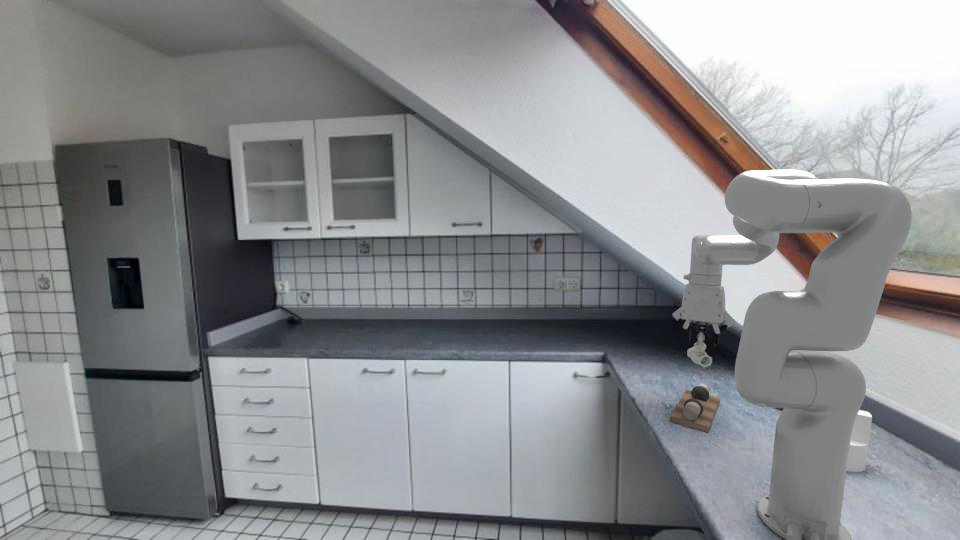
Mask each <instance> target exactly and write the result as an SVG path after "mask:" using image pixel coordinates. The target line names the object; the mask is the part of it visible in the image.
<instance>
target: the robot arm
mask: <svg viewBox="0 0 960 540" xmlns="http://www.w3.org/2000/svg"><path fill="white" fill-rule="evenodd" d="M724 204H725V207H726V209H727V211H728V212H729V214H731V215H732V216H733V217H732V224H733V227H734V229H735V231H736V232H737V233H738V234H699V235H698V234H697V235H695V236H694V237H692V240H691V249H690V250H691V251H690V253H691V254H690V268H689V273H688V274H684V275H683V280H687V282H688V283H686V284H685V286H684V290H683V294H682V295H683V296H682V301H681V306H680V307H679V308H678V309H677V310H675V311H674V312H673V313H672V317H673V318H674V319H675V320H676V321H677V322H678V323H679V325H681V327H682V328H683V332H684V333H683V339H684V340H685V344H690V342H691V341H692V326H689V322H691V321H696V322H704V323H711V324H712V325H713V328H714V329H713V332H712V333H711V335H712V336H711V348H712V349H716V346H718V345H720V344H719V343H720V334H721V333H722V332H724V331H725V330H727V329H728V328H730V327H733V326H734V325H735V324H736V320H735V319H734V318H733V317H732V316H731V314H730V313H728V311H727V310H726V292H725V286H723V285H722V278H723V266H725V265H726V266H748V265H749V266H750V265H755V264H758V263H760V262H761V261H763V260H765V259H766V258H768V257H769V256H771V255H772V254H773V253H774V252H775V251H776V249H777V247H778V244H779V240H780V234H825V233H826V234H828V233H829V234H834V233H835V234H837V237H836V238H835V239H834V240H833V241H831V242H830V243H829V244H827V245H826V246H825V247H824V248H823V249H822V250H821V251H820V252H819V253H818V254H817V256H816V257H815V258H814V260H813V261H812V263H811V266H810V270H809V274H808V278H807V281H806V284H805V286H804V287H803V288H802V289H800V290H798V291H797V290H793V291H792V290H774V291H767V292H764V293H761V294H759V295H758V296H756V297H755V298H753V300H752V301H751V302H750V303H749V305H748V307H747V308H746V309H747V310H746V313H745V315H744V319H743V324H742V330H741V335H740V339H739V345H738V349H737V354H736V359H735V365H734V382H735V387H736V389H737V392H738V393H739V395H740V396H741V397H742V399H743V400H744V401H746V402H747V403H748V404H749V403H750V404H751V405H753V406H757V407H762V408H773V409H774V408H775V409H781V408H784V409H781V410H782V411H781V412H780V413H779V415H778V417H777V420H776V423H775V424H776V425H775V429H774V430H775V431H774V441H773V450H772V459H771V470H770V471H771V473H770V483H769V493H768V494H766V495H763V496H762V497H760V498H758V501H757V505H756V510H757V511H756V512H757V514H758V516H759V518H760V519H761V520H762V522H763V523H764V525H766V526H767V527H768V528H769V529H770V530H771V531H773V533H775V534H776V535H778V536H779V537H781V538H783V539H784V540H852V537H851V534H850V532H849V531H848V529H847V528H846V527H845V525H843V523H842V522H841V516H842V509H843V502H844V501H843V500H844V492H845V483H846V476H847V471H846V469H847V460H848V455H849V447H850V440H851V434H852V429H853V425H854V422H855V419H856V416H857V414H858V412H859V410H861V407H862V404H863V403H864V400H865V398H866V397H865V396H866V391H867V383H866V380H865V378H866V377H865V376H864V373H863V372H862V370H861V369H860V368H859V366H858V365H857V364H856V363H854V362H853V361H852V360H850V359H849V358H847V357H845V356H842V355H839V354H836V353H831V352H848V351H854V350H856V349H859V348H860V347H862V346H863V345H864V344H865V343H866V341H867V339H868V338H869V335H870V332H871V329H872V326H873V325H874V321H875V319H876V318H875V317H876V314H877V311H878V309H879V305H880V301H881V298H882V295H883V292H884V288H885V284H886V281H887V278H888V276H889V273H890V271H891V269H892V266H893V265H894V263H895V260H896V259H897V257H898V255H899V254H900V252H901V250H902V248H903V246H904V244H905V242H906V240H907V239H908V235H909V234H910V230H911V226H912V220H913V216H912V215H913V214H912V208H911V204H910V201H909V199H908V197H906V195H905V194H904V193H903V191H902V190H901V189H900V188H898V187H896V186H895V185H894V184H891V183H888V182H886V181H882V180H881V181H880V180H876V179H869V178H868V179H867V178H866V179H865V178H826V179H825V178H823V179H820V178H818V177H817V176H815V174H812V173H810V172H808V171H805V170H798V169H769V170H768V169H766V170H765V169H763V170H762V169H761V170H759V169H757V170H755V169H754V170H746V171H743V172H741V173H740V174H738V175H736V176H735V177H734V178H733V179H732V180H731V181H730V183H729V184H728V185H727V187H726V190H725V194H724ZM724 320H726V322H725V323H723V322H724ZM722 323H723V324H722Z"/></svg>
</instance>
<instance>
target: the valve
mask: <svg viewBox="0 0 960 540" xmlns="http://www.w3.org/2000/svg"><path fill="white" fill-rule="evenodd" d="M689 326H690V327H693V326H695V330H696V332H698V334H697V335H696V340H697V341H696V342H694V343H693V346H692V347H690V348H688V349H687V352H686V353H687V357H688V358H690V359H691V361H692V362H693V363H694V364H696V365H700V366H701V367H702V368H704V369H705V368H707V367H710V366H712V364H713V357H711V356H709V355H708V353H707V352H706V349H707V344H706V343H705V342H704V341H705V338H706V337H705V335H704V333H706V332H708V331H710V330H711V329H712V330H714V328H713V325H712V324H711V323H704V322H696V321H691V322H689Z"/></svg>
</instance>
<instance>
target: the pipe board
mask: <svg viewBox="0 0 960 540" xmlns="http://www.w3.org/2000/svg"><path fill="white" fill-rule="evenodd" d="M710 389H711V388H710V386H709V385H708V384H707V383H705V382H699V383H697V384H696V386H694V387H693V388H692V389H691V390H689V389H686V390H685V391H684V393H683V395H682V397H681V398H680V400H679V401H678V403H677V405H676V407H675V408H674V410H673V411H672V413H671V414H670V418H669V419H670V420H669V421H670V423H671V422H672V423H675V424H678V425H682V426H685V427H688V428H691V429H695V430H698V431H702V432H706V433H710V431H711V427H712V424H713V422H714V419H715V417H716V414H717V411H718V409H719V406H720V403H721V397H718V396H714V395H710V391H711V390H710Z"/></svg>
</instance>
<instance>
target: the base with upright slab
mask: <svg viewBox="0 0 960 540" xmlns="http://www.w3.org/2000/svg"><path fill="white" fill-rule="evenodd" d="M872 421H873V416H872V414H871V413H870V412H869V411H866V410H862V409H860V410H859V412H858V414H857V416H856V419H855V422H854V425H853V429H852V434H851V440H850V447H849V455H848V460H847V469H846V472H851V473H861V472H865V470H866V468H867V459H868V451H869V445H870V438H871V437H870V436H871V429H872Z"/></svg>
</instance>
